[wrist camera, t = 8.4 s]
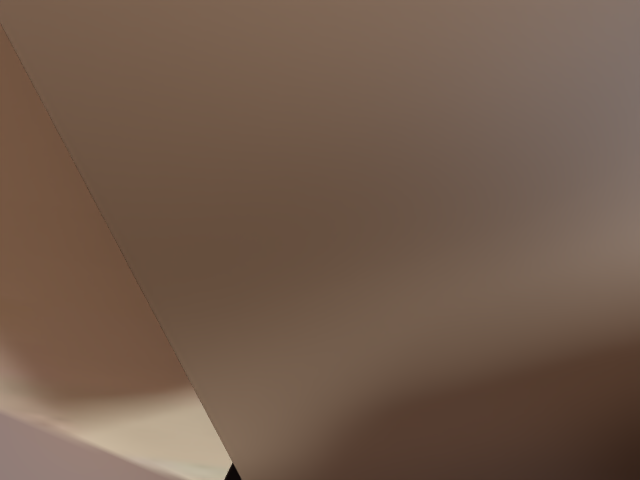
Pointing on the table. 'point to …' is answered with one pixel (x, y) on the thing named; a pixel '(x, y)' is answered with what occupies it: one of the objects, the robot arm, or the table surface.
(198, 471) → the table surface
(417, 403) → the brown rectangular block
